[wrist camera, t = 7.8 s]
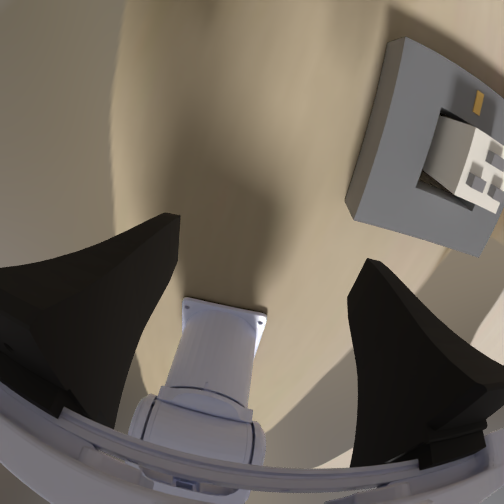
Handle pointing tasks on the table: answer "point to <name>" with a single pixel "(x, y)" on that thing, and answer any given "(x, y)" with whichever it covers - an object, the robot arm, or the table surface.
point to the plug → (467, 163)
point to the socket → (421, 149)
